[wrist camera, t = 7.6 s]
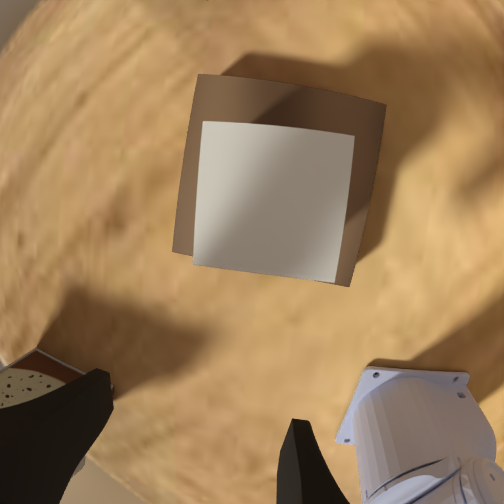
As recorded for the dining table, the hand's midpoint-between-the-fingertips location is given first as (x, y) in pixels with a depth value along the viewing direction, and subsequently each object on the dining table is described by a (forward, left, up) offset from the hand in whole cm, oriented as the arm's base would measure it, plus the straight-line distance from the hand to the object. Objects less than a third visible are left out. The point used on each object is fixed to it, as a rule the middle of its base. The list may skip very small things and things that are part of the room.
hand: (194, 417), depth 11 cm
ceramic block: (-1, -8, -8) cm, 11 cm away
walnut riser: (-1, -9, -11) cm, 14 cm away
